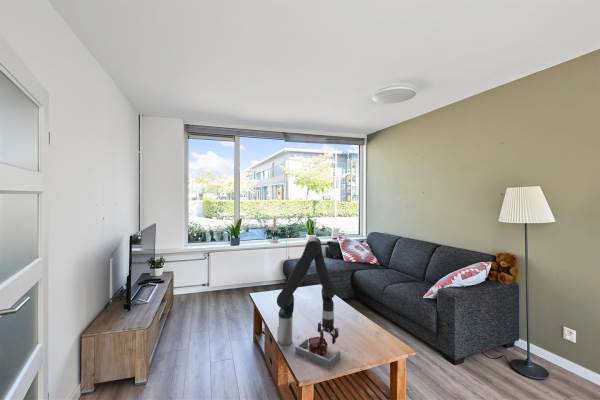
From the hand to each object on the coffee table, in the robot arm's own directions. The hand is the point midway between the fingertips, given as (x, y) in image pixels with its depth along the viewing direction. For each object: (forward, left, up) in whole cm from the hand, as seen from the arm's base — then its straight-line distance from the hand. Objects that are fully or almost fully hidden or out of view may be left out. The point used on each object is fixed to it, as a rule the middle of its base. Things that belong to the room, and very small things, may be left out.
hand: (327, 341), depth 177 cm
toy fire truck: (-1, -10, -4) cm, 11 cm away
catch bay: (0, -12, -3) cm, 12 cm away
